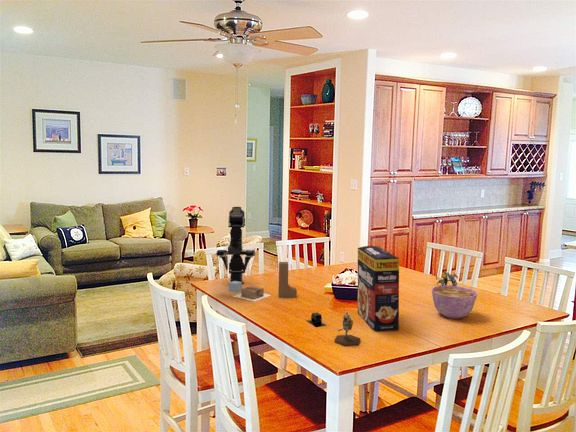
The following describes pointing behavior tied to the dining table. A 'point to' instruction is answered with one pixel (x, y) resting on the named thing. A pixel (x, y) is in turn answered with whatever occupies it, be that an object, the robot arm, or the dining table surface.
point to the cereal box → (378, 288)
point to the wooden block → (285, 283)
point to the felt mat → (251, 299)
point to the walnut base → (252, 292)
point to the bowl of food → (453, 300)
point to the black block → (316, 320)
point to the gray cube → (234, 286)
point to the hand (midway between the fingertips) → (235, 270)
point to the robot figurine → (346, 339)
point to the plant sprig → (448, 279)
